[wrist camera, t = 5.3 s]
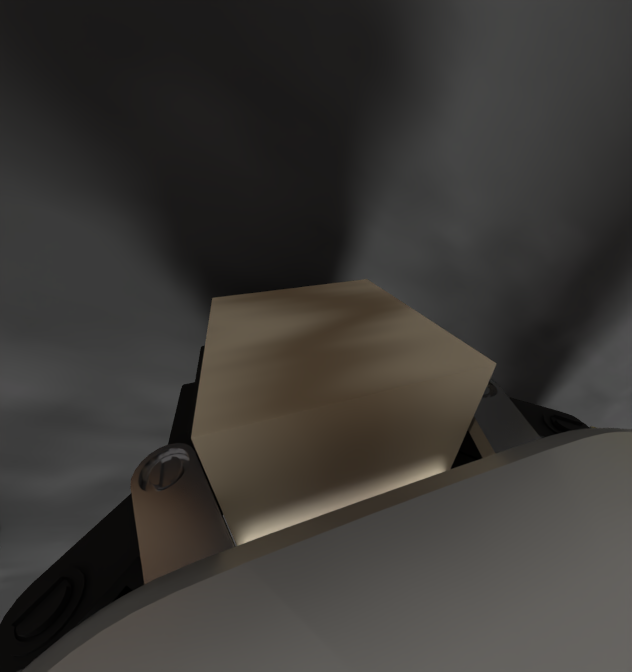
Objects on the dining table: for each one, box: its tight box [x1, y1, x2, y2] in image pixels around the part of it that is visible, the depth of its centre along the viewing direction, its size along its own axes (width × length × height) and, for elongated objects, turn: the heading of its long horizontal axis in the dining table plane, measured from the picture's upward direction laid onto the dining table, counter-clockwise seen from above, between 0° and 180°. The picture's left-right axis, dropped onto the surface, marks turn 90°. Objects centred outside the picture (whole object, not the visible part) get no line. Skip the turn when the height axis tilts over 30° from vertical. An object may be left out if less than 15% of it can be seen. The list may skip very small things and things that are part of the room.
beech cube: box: [191, 279, 496, 546], centre depth 9 cm, size 6×6×6 cm
